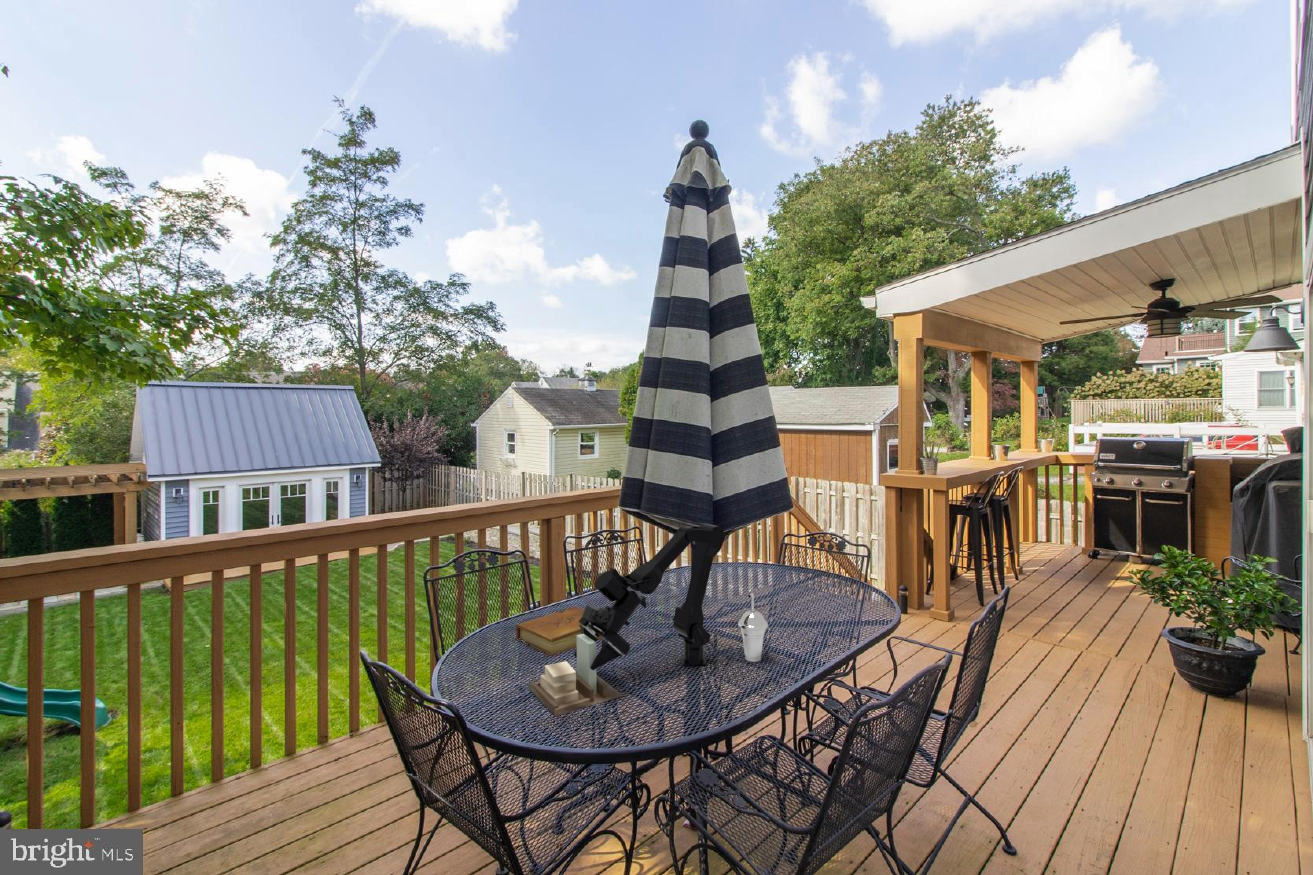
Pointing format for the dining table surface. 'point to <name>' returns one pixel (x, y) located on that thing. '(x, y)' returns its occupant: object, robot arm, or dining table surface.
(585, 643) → the sage panel
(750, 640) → the cup with straw
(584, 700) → the tray
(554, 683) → the offcut stack
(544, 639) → the diary
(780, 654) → the dining table surface
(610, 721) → the dining table surface
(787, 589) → the dining table surface
